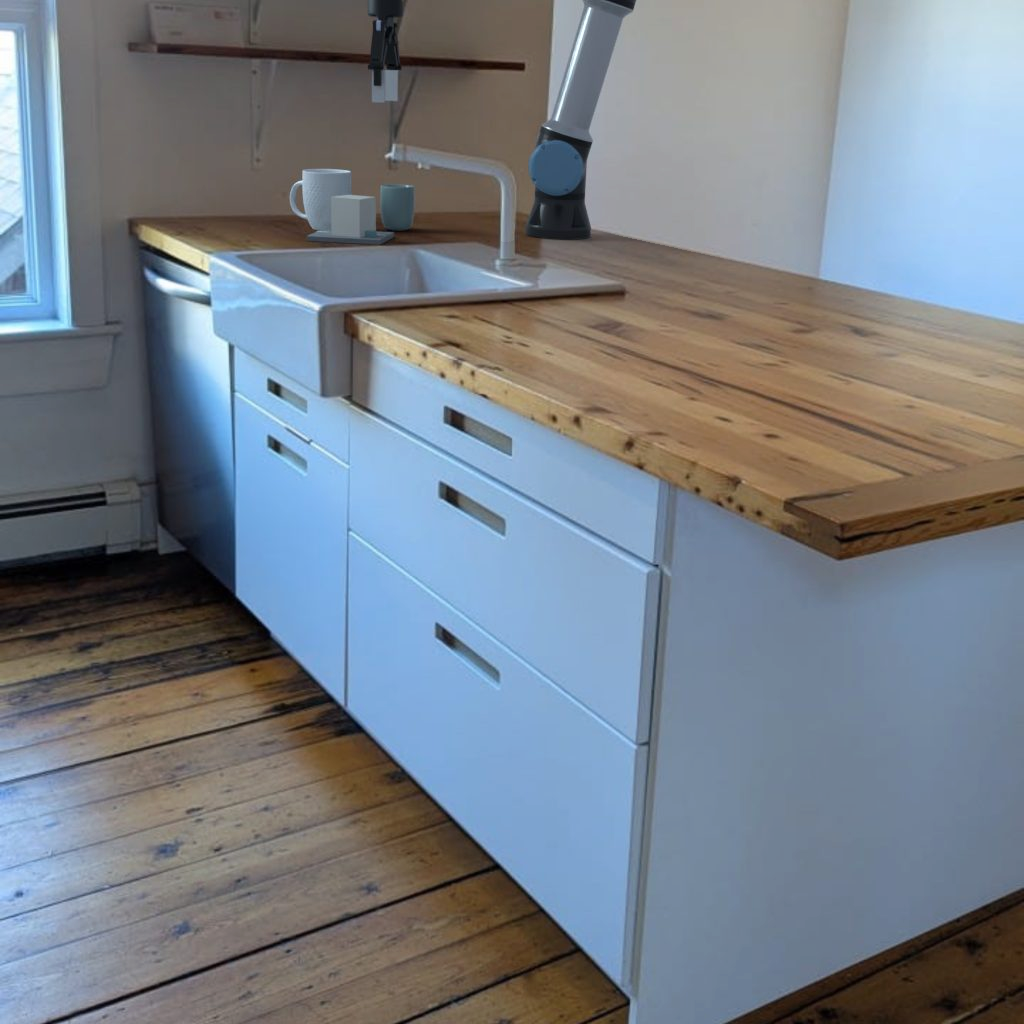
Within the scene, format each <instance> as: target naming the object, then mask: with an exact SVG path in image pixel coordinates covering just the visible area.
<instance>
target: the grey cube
mask: <svg viewBox="0 0 1024 1024" xmlns="http://www.w3.org/2000/svg"><path fill="white" fill-rule="evenodd" d="M376 225H377V197H376V196H369V195H355V194H351V195H342V196H335V197H331V235H339V236H349V237H359V238H360V237H374V236H377V227H376Z"/></svg>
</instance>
